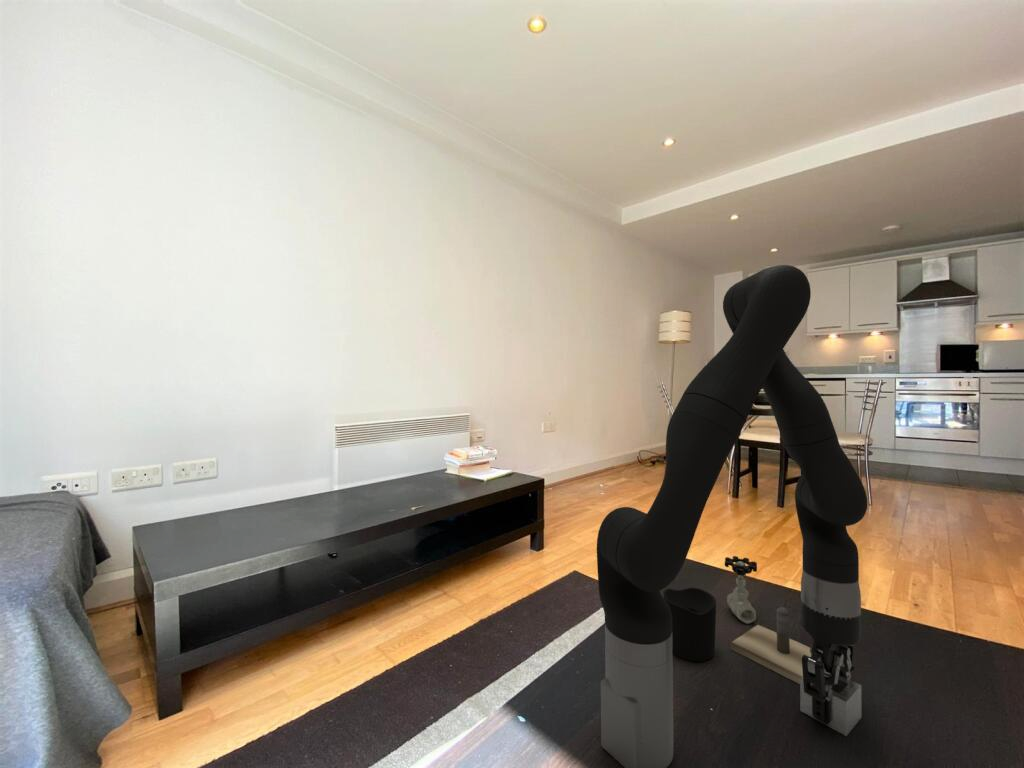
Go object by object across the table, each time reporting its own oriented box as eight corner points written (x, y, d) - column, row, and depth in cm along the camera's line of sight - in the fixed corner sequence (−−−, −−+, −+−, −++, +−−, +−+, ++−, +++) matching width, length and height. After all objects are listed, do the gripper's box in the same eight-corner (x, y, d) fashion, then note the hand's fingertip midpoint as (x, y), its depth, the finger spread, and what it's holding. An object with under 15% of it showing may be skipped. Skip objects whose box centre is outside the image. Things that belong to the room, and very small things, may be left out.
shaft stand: (814, 691, 73) (814, 634, 73) (731, 649, 85) (731, 600, 84) (838, 668, 79) (838, 615, 79) (757, 631, 90) (757, 585, 90)
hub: (846, 736, 64) (846, 702, 64) (800, 710, 69) (800, 679, 69) (861, 717, 67) (861, 685, 67) (816, 694, 72) (816, 664, 72)
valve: (750, 609, 99) (749, 556, 99) (764, 625, 92) (763, 568, 92) (719, 608, 100) (719, 555, 100) (731, 624, 93) (730, 568, 93)
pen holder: (709, 671, 79) (709, 615, 78) (657, 651, 84) (656, 599, 84) (721, 645, 86) (721, 594, 86) (672, 629, 92) (672, 581, 92)
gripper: (840, 629, 61) (840, 750, 61) (876, 598, 69) (877, 704, 69) (781, 606, 67) (782, 716, 67) (821, 580, 75) (822, 678, 75)
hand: (830, 709), depth 68 cm, fingers closed on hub, 6 cm apart
